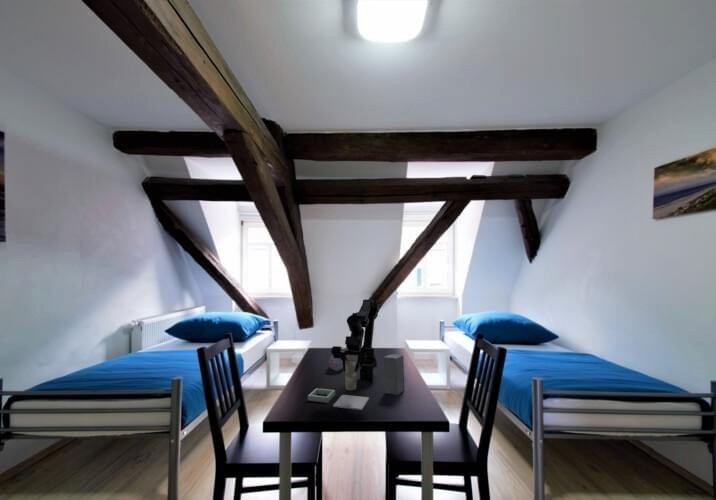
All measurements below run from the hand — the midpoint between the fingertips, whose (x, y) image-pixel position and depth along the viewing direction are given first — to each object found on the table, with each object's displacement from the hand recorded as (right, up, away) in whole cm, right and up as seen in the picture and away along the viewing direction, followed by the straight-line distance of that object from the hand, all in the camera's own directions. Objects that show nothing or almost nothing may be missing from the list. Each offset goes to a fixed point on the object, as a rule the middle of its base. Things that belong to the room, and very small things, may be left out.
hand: (349, 371), depth 138 cm
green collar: (-12, -13, +6) cm, 19 cm away
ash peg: (0, -7, +1) cm, 7 cm away
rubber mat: (+1, -13, +1) cm, 13 cm away
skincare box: (+20, -14, +13) cm, 27 cm away
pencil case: (-8, -16, +53) cm, 56 cm away
